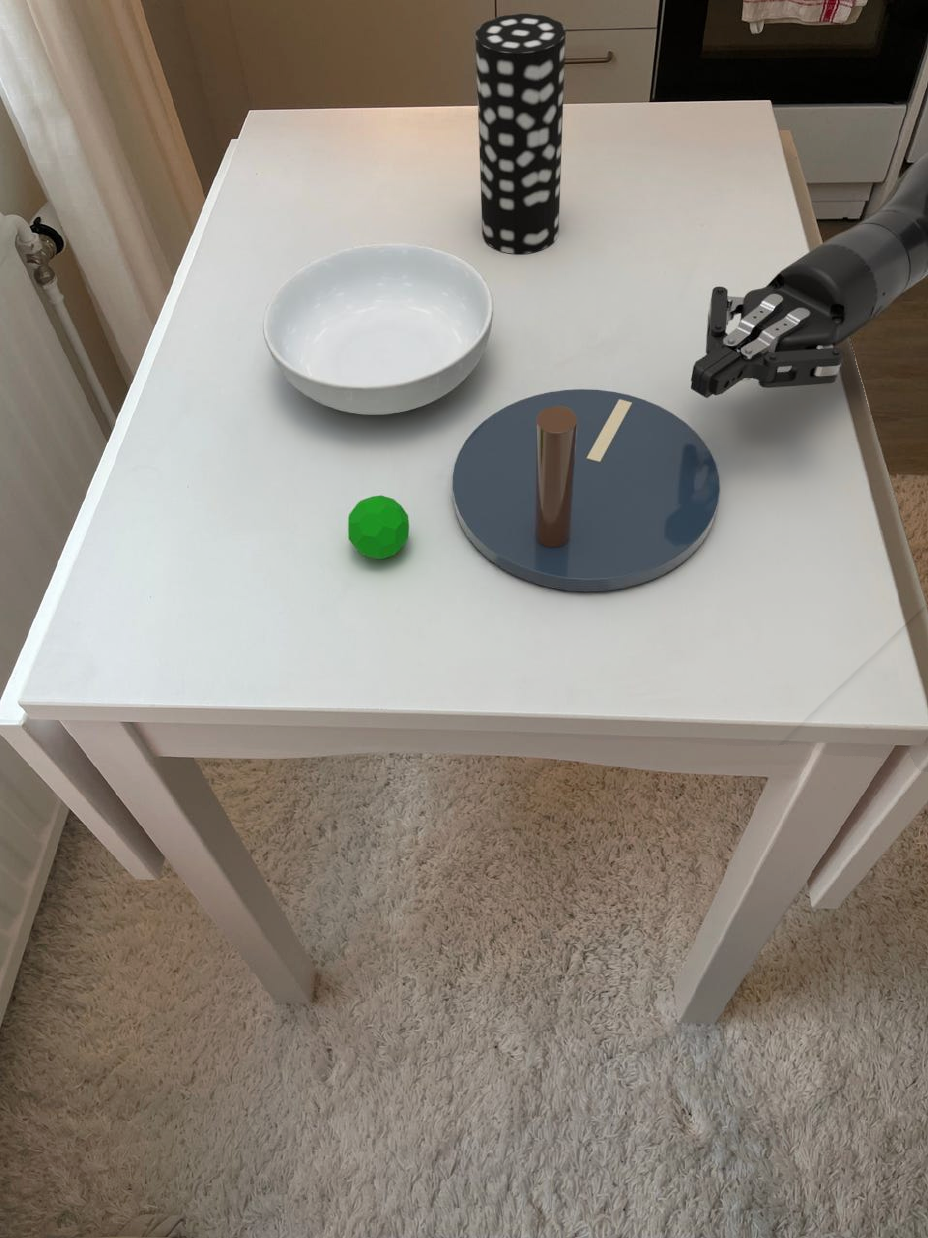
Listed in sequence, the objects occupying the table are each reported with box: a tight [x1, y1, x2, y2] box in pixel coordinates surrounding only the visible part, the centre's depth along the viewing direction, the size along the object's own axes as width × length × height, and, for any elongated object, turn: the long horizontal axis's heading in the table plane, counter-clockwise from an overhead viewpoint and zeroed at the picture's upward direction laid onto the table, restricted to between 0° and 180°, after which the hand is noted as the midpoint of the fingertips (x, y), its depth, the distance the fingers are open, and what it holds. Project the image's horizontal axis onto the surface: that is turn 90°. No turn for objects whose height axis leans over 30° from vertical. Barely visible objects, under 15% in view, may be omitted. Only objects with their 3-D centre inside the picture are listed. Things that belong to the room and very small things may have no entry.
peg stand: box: [452, 388, 721, 592], centre depth 75 cm, size 22×22×14 cm
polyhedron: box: [347, 494, 410, 560], centre depth 76 cm, size 5×5×5 cm
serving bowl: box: [262, 242, 494, 416], centre depth 88 cm, size 21×21×7 cm
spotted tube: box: [475, 13, 567, 255], centre depth 96 cm, size 8×8×20 cm
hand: (699, 384), depth 72 cm, fingers closed
